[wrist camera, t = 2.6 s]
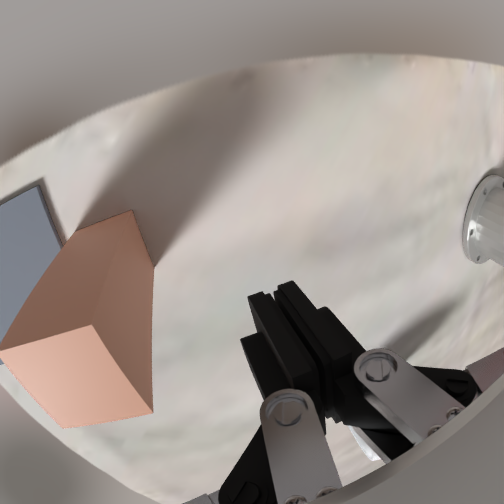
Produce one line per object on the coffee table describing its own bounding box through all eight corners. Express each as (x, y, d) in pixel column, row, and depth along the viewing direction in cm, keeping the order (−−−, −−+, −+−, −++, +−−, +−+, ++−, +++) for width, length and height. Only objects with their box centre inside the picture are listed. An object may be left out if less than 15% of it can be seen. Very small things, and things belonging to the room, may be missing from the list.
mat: (39, 184, 18) (36, 186, 18) (107, 332, 24) (107, 336, 24) (-65, 247, 16) (-68, 250, 16) (0, 361, 22) (-1, 365, 22)
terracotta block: (132, 209, 21) (91, 324, 9) (154, 268, 23) (153, 413, 11) (74, 231, 20) (-4, 352, 8) (99, 286, 23) (62, 428, 10)
